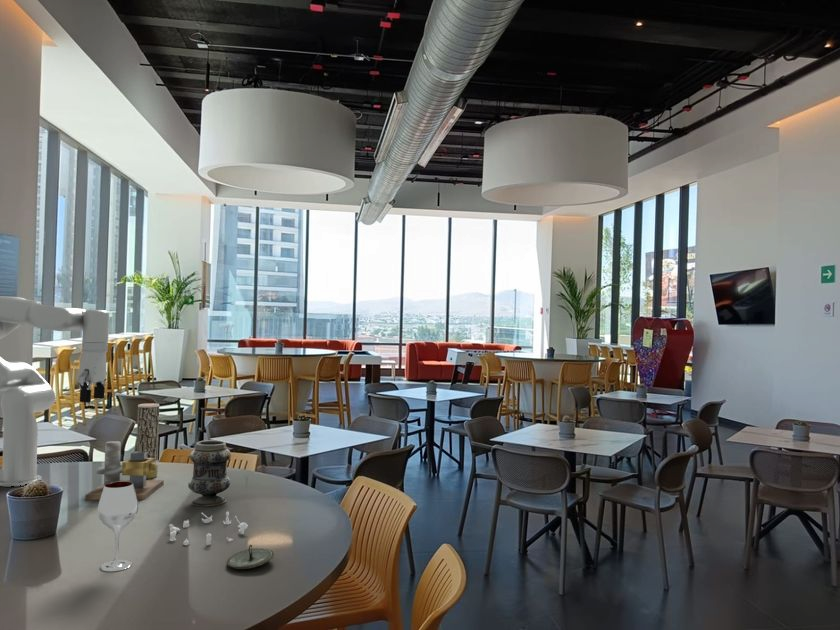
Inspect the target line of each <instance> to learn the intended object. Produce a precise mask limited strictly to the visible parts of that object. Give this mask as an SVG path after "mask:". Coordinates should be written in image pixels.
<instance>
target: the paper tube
mask: <svg viewBox="0 0 840 630" xmlns="http://www.w3.org/2000/svg"><path fill="white" fill-rule="evenodd" d="M136 424H137V425H136V430H137V431H136V451H147V458H154V463H156V464H157V467H156V470H155V471H152V472H151V473H149V474H148V475H146V480H151V479H154V478H157V476H158V464H159V436H160V435H159V430H160V403H152V402H151V403H150V402H149V403H140V404H138V405H137V423H136Z"/></svg>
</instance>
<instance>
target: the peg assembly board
mask: <svg viewBox="0 0 840 630" xmlns="http://www.w3.org/2000/svg"><path fill="white" fill-rule="evenodd" d="M121 446H122V445H121V441H119V440H114V441H113V440H112V441H106V442H105V444H104V447H105V448H104V465H101V466H98V467H97V468H95V471H96V472H95V473H96V474H98V475H103V477H104V478H103V484H101V485H99V486H98V487H96V488H95V489H93V490H91V491H90V492H88V493H86V494H85V496H84V497H85V499H84V500H85V501H87V500H89V501H91V500H92V501H94V500H95V501H97V500H98V501H100V498H101V495H102V492H103V489H104V486H105V485H106V484H108V483H112V482H119V481H127V482H130V479H121V476H130V475H144V476H146V475H148V474H149V473H151V472H152V471H155V470H156V467H157V464H156V463H154V458H147V459H146V461H145V462H130V459H131V457H129V458H128V459H126V460H124V461H123V462H122V461H121V450H122V449H121ZM120 475H121V476H120ZM164 483H165V481H164V480H161V479H146V486H145V487H144V488H137V489H135V493H136V497H137V501H144V500H146V499H147V498H148V497H149V496H151V495H152V494H153V493H154V492H155V493H156V491H157V490H159V489H160V488H161V487H163V486H164ZM162 485H163V486H162Z"/></svg>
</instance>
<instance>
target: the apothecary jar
mask: <svg viewBox="0 0 840 630" xmlns="http://www.w3.org/2000/svg"><path fill="white" fill-rule="evenodd" d="M231 456H232V453H231V451H230V450H229V449H228V447H227V444H226V441H223V440H215V439H214V440H213V439H212V440H210V439H209V440H208V439H207V440H201V441H198V442H196V444H195V448H194V449H193V450H191V452H190V454H189V460H190V461H191V462H193V472H192V477H191V478H190V479H189V481H188V483H187V487H188V489H189V490H191V491H192V493H195V494H199V495H201V496H198V497H197V498H195V499H193V501H191V505H193V506H196V507H204V508H205V507H206V508H207V507H214V506H215V507H216V506H220V505H223V504H225V503H226V502H227V499H226V497H224V496H221V495H218V494H220V493H222V492H224V491H226V490H227V489H228V488H230V486H231V479H230V477H229V476H228V474H227V467H228V466H227V465H228V464H227V463H228V461H229V460H230V459H231Z"/></svg>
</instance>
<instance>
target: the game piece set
mask: <svg viewBox="0 0 840 630" xmlns="http://www.w3.org/2000/svg"><path fill="white" fill-rule="evenodd" d="M201 515H202V516H203V517H205V518H202V517H201V520H202V522H203V523H204V524H209V523H210V522H213V521H214V520H213V515H211V516H209V517H208V516H207V515H206V514H204V512H201ZM229 515H230V512H229V511H228V510H227V511H226V512H225V516H226V517H225V520H222V522H223V523H222V524H223V525H230V524H232V520H230V518H229ZM234 518H236V521H237V522H238V523H239V525H237V528H238V532H239V533H240V535H244V534H245V530H246V529H248V524H247V523H246V522H240V521H239V519H238V517H237V515H235V516H234ZM168 527H169V531H170V533H169V535H170V538H169V541H170V542H175V541H177V538H176V536H177V532H180V531H181V528H179V527H177V526H174V525H173V523H171V524H168ZM189 527H190V520H189V519H187V520H183V523H182V528H189ZM205 539H206V545H207V546H210V545H211V544H212V534H211V533H207V534H206V537H205ZM226 539H227V542H229V543H230V542H232V541H234V539H233V538H229V537H228V536H227V537H226ZM183 545H184V546H189V545H190V541H189V540H188V538H187V537H186V538H185V540H184V541H183Z"/></svg>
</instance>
